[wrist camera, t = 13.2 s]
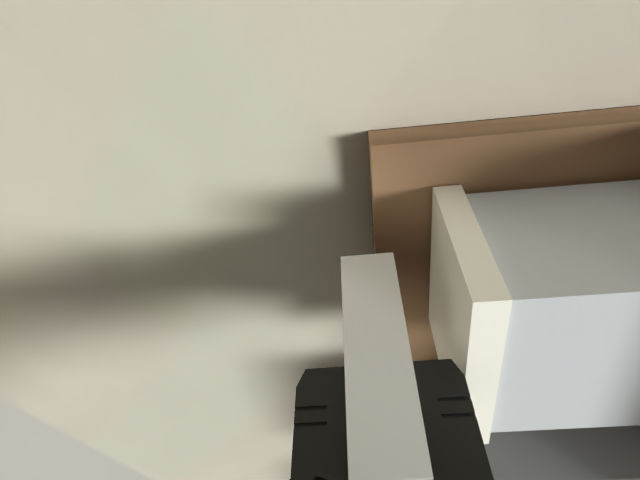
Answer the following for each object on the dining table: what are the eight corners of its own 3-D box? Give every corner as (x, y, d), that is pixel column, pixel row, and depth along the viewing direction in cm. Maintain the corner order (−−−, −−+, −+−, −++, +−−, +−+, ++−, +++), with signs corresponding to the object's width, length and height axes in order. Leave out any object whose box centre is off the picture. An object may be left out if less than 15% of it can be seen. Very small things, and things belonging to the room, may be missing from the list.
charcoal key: (426, 361, 18) (453, 489, 15) (791, 339, 18) (923, 470, 14) (424, 441, 21) (445, 564, 18) (734, 426, 21) (829, 552, 17)
